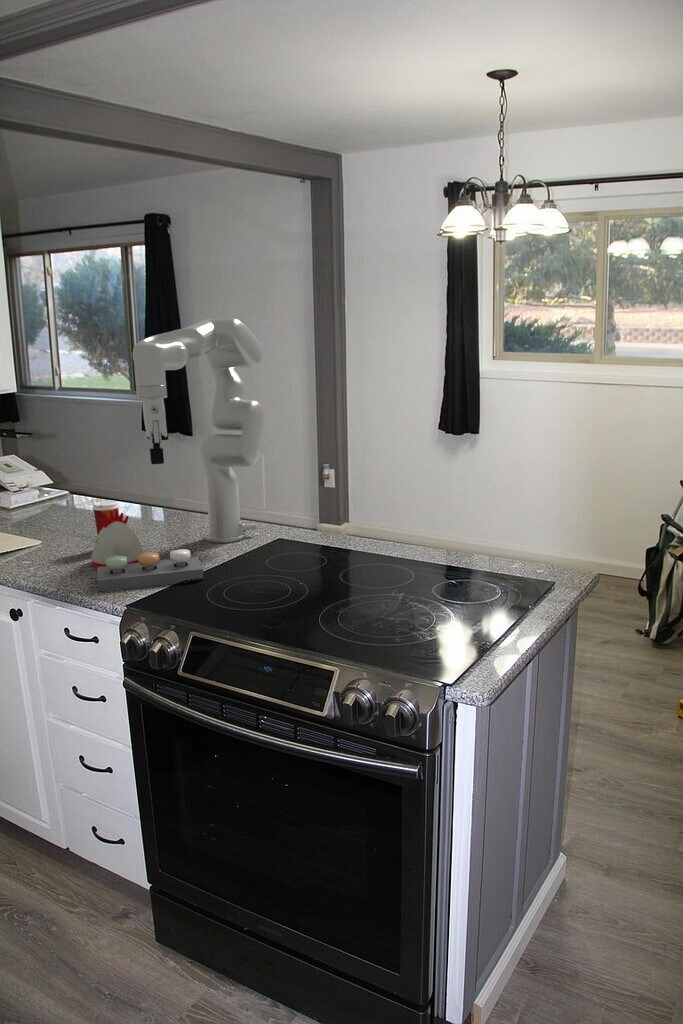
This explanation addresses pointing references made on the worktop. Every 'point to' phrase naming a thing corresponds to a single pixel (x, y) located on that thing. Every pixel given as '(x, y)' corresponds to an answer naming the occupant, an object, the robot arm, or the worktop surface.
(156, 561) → the button terracotta
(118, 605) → the worktop surface
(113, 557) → the button sage
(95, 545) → the white rounded crested piece
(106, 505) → the paper cup
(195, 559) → the console
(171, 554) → the button ivory
